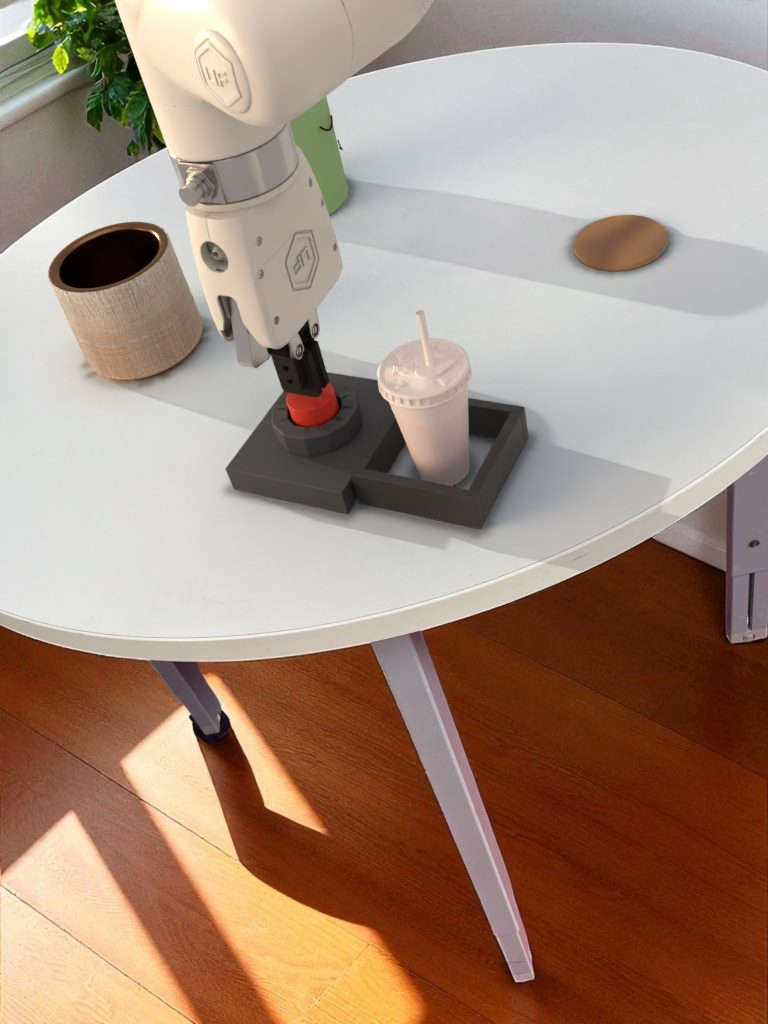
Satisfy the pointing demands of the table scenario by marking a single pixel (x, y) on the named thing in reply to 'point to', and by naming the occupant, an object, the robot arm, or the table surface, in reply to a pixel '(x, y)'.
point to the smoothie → (430, 403)
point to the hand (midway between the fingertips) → (306, 387)
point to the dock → (439, 498)
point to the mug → (322, 152)
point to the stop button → (313, 408)
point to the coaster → (620, 242)
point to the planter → (126, 300)
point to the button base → (312, 449)
